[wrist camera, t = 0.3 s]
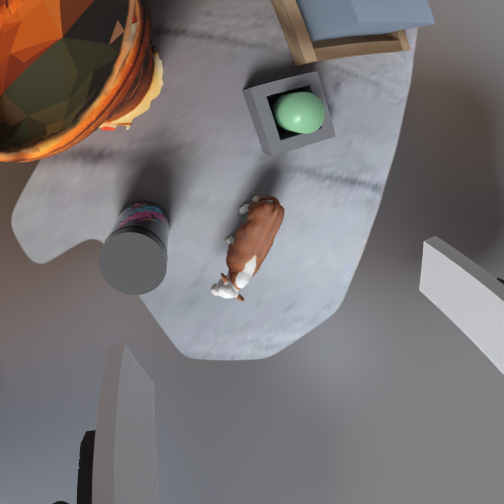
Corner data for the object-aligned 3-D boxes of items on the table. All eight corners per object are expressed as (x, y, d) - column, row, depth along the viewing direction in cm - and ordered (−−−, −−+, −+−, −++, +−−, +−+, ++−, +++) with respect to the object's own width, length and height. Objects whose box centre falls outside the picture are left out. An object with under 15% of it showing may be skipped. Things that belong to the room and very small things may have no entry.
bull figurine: (201, 267, 40) (207, 302, 33) (253, 180, 36) (271, 198, 29) (229, 279, 42) (240, 314, 35) (281, 196, 38) (305, 218, 31)
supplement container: (180, 217, 36) (180, 254, 27) (153, 258, 38) (146, 305, 29) (134, 189, 33) (117, 218, 24) (109, 233, 35) (88, 274, 26)
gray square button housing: (242, 90, 31) (249, 88, 28) (303, 74, 31) (317, 71, 28) (263, 151, 35) (272, 156, 32) (320, 133, 35) (335, 136, 32)
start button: (266, 99, 30) (279, 97, 26) (302, 89, 30) (318, 87, 26) (278, 135, 32) (291, 138, 28) (312, 124, 32) (329, 127, 28)
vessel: (50, 145, 28) (-54, 181, 10) (57, 35, 22) (-32, -14, 5) (163, 135, 31) (140, 152, 14) (171, 22, 26) (168, -71, 8)
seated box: (293, -6, 25) (333, -38, 16) (364, -8, 26) (415, -29, 16) (311, 42, 29) (358, 22, 19) (379, 34, 29) (435, 23, 20)
